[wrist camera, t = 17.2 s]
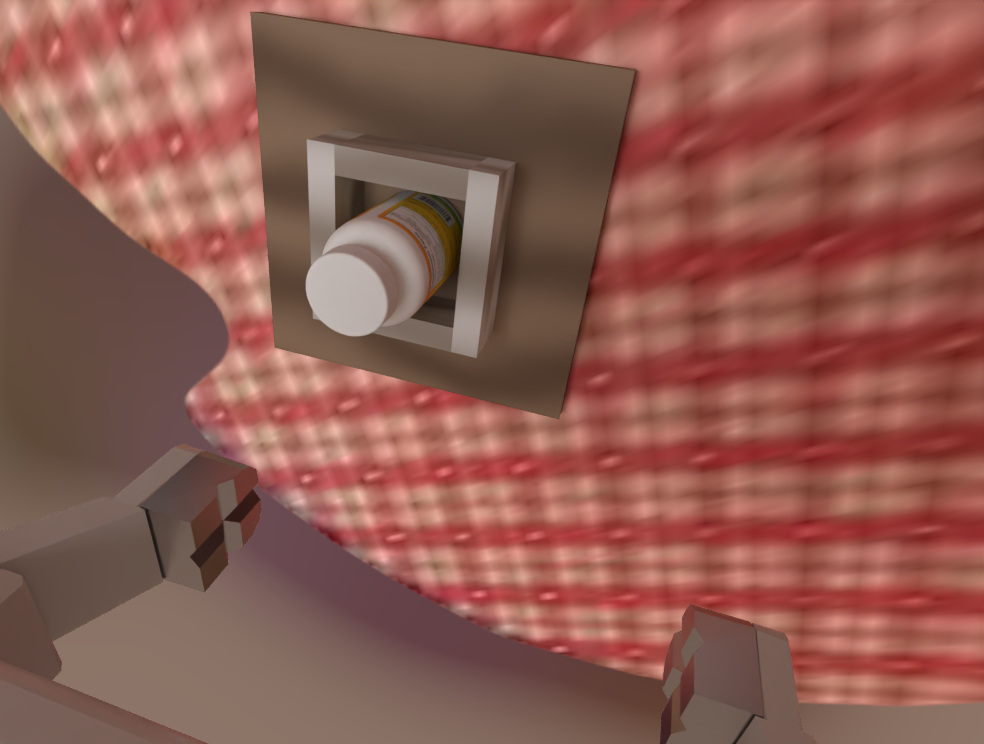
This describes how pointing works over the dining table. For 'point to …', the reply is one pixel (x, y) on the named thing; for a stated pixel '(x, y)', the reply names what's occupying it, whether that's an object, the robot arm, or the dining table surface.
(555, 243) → the socket plate
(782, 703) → the robot arm
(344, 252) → the supplement bottle
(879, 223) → the dining table surface
